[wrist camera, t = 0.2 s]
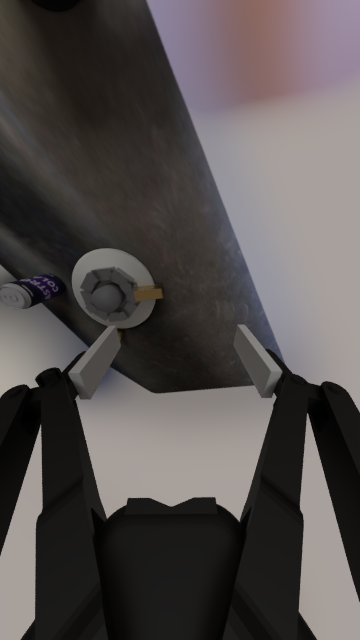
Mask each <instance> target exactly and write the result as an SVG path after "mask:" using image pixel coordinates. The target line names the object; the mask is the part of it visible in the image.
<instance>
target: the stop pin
mask: <svg viewBox="0 0 360 640" xmlns="http://www.w3.org/2000/svg"><path fill="white" fill-rule="evenodd" d="M124 333H125V330H124V329H119V331H118V336H119V341H120V340H121V338H122V337H123V335H124Z"/></svg>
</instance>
